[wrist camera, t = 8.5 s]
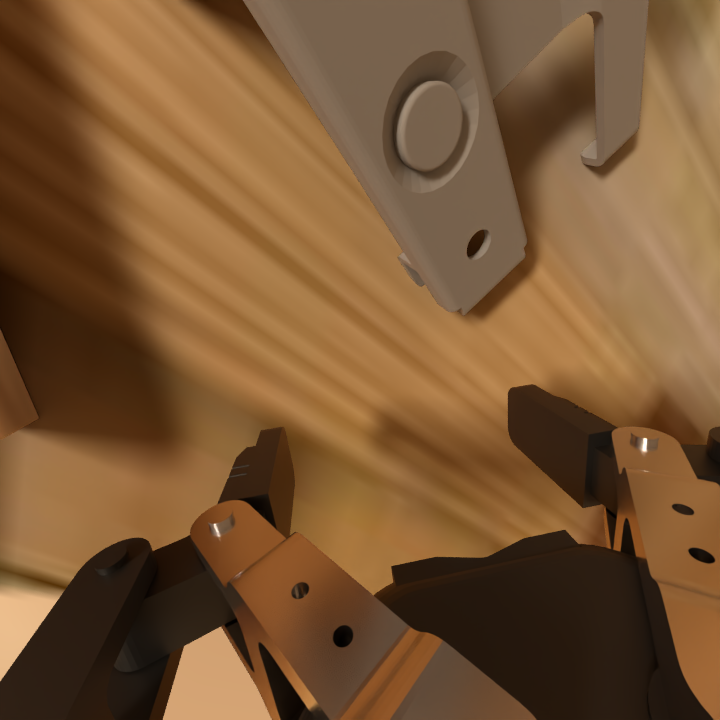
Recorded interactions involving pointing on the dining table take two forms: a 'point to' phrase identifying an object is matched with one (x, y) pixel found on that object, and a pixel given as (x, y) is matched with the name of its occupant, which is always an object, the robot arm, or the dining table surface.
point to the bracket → (446, 112)
